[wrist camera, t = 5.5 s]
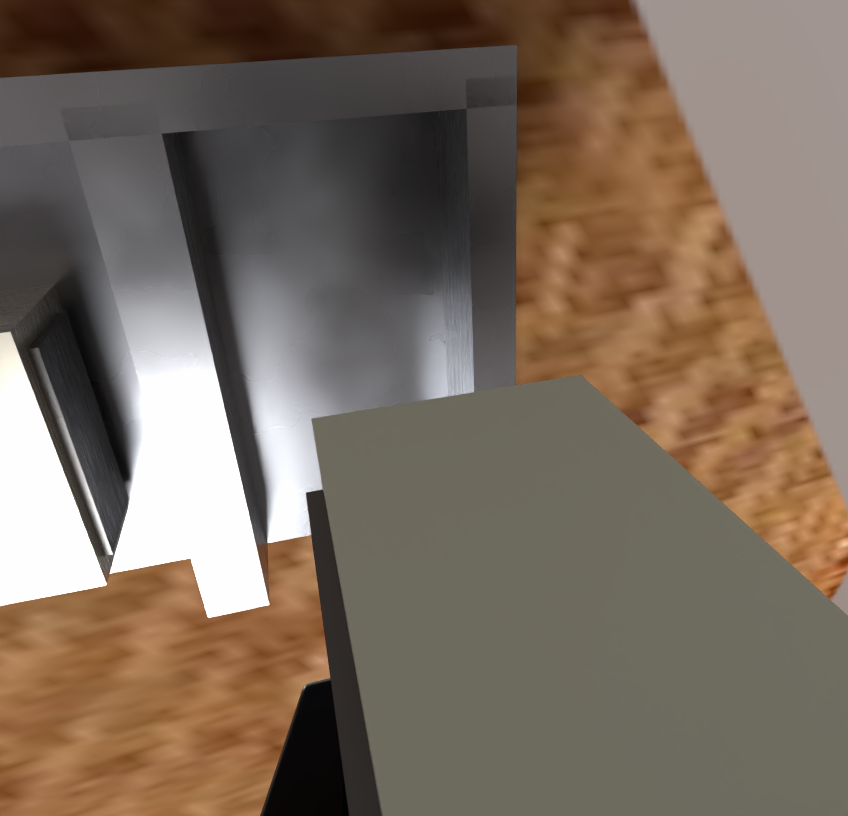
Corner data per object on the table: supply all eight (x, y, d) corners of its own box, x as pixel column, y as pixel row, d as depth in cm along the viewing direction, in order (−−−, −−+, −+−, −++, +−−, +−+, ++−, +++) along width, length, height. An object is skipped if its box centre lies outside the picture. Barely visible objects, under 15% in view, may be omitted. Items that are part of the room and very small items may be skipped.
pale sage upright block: (562, 689, 11) (830, 1214, 6) (350, 743, 11) (448, 1384, 5) (580, 374, 8) (1104, 846, 3) (294, 421, 8) (384, 1104, 3)
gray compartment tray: (475, 483, 21) (520, 565, 17) (-27, 577, 18) (-93, 696, 15) (463, 51, 15) (527, 43, 12) (-267, 98, 12) (-467, 107, 9)
